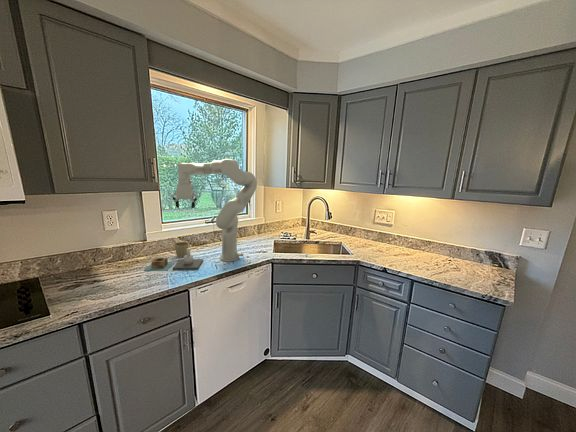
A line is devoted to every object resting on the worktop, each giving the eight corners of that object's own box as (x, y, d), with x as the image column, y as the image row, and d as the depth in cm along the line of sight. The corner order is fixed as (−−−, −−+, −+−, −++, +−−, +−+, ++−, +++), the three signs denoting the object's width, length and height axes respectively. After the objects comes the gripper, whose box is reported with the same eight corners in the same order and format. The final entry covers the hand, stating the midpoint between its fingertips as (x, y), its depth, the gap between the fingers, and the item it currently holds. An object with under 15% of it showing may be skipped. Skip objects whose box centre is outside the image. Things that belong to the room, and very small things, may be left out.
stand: (203, 261, 155) (202, 245, 153) (198, 269, 141) (197, 252, 139) (180, 261, 153) (179, 245, 151) (172, 270, 139) (172, 252, 138)
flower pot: (170, 257, 160) (170, 244, 158) (181, 253, 168) (180, 241, 167) (182, 259, 157) (181, 246, 155) (192, 255, 165) (191, 243, 164)
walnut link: (167, 264, 147) (167, 257, 146) (163, 268, 141) (163, 261, 140) (156, 264, 146) (156, 257, 146) (151, 268, 140) (151, 261, 139)
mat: (174, 262, 150) (174, 262, 150) (167, 270, 139) (167, 269, 138) (152, 263, 148) (152, 262, 148) (143, 270, 137) (143, 270, 137)
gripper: (199, 182, 164) (200, 207, 167) (172, 181, 162) (173, 206, 165) (196, 182, 157) (197, 208, 160) (168, 181, 154) (169, 208, 157)
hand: (185, 207), depth 162 cm, fingers open, 9 cm apart
